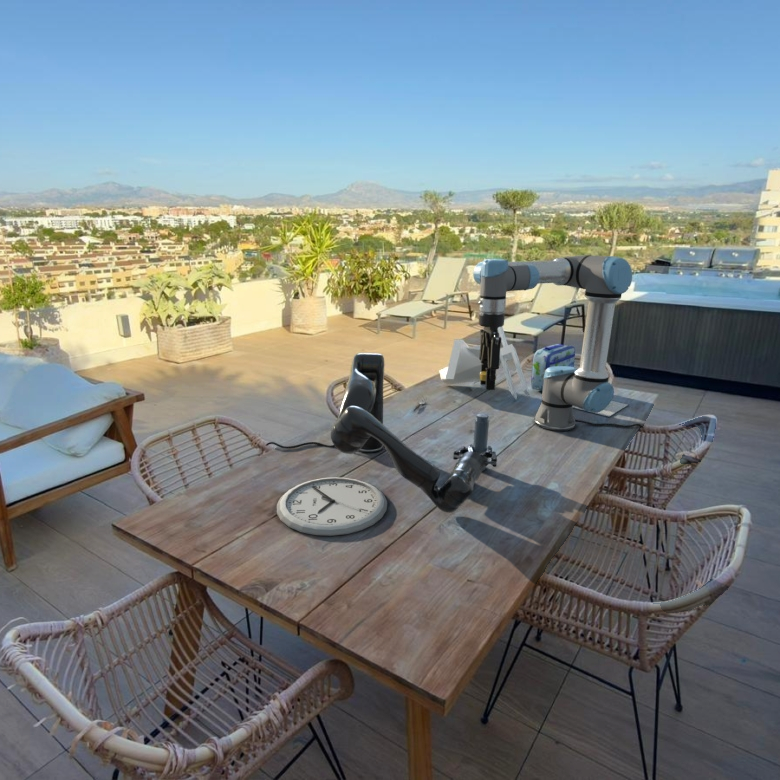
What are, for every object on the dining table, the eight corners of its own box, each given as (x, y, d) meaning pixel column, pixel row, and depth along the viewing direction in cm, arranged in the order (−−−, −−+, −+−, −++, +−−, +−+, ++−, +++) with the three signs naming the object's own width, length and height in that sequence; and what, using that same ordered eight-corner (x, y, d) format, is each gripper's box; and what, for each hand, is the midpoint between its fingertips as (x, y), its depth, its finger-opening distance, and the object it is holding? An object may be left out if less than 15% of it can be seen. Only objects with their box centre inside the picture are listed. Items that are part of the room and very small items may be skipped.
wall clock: (392, 527, 129) (268, 531, 127) (391, 533, 130) (269, 537, 127) (383, 473, 158) (282, 475, 155) (383, 478, 158) (282, 480, 156)
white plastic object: (461, 429, 252) (437, 405, 227) (444, 352, 274) (420, 323, 250) (535, 404, 240) (518, 377, 215) (510, 326, 262) (492, 293, 237)
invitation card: (608, 416, 214) (573, 407, 224) (608, 416, 214) (573, 408, 224) (628, 404, 229) (594, 396, 238) (628, 405, 229) (594, 397, 238)
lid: (493, 382, 159) (494, 376, 158) (477, 380, 161) (477, 374, 160) (497, 377, 163) (498, 372, 163) (481, 376, 165) (482, 370, 165)
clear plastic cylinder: (482, 472, 164) (486, 418, 158) (469, 469, 166) (473, 416, 160) (487, 467, 167) (491, 414, 162) (474, 464, 169) (478, 412, 164)
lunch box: (547, 396, 238) (552, 351, 232) (526, 391, 246) (531, 347, 239) (574, 385, 256) (579, 343, 250) (554, 380, 263) (559, 340, 257)
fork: (410, 411, 216) (410, 407, 215) (421, 400, 230) (421, 396, 229) (416, 412, 215) (416, 408, 214) (427, 401, 229) (427, 396, 228)
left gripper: (444, 475, 156) (459, 454, 171) (491, 485, 151) (503, 461, 166) (445, 452, 154) (461, 432, 169) (493, 461, 148) (505, 440, 164)
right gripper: (471, 308, 164) (468, 379, 171) (488, 318, 147) (483, 396, 154) (494, 307, 165) (490, 378, 172) (514, 317, 148) (508, 395, 155)
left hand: (481, 447), depth 167 cm, fingers closed on clear plastic cylinder, 4 cm apart
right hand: (487, 386), depth 163 cm, fingers closed on lid, 5 cm apart
